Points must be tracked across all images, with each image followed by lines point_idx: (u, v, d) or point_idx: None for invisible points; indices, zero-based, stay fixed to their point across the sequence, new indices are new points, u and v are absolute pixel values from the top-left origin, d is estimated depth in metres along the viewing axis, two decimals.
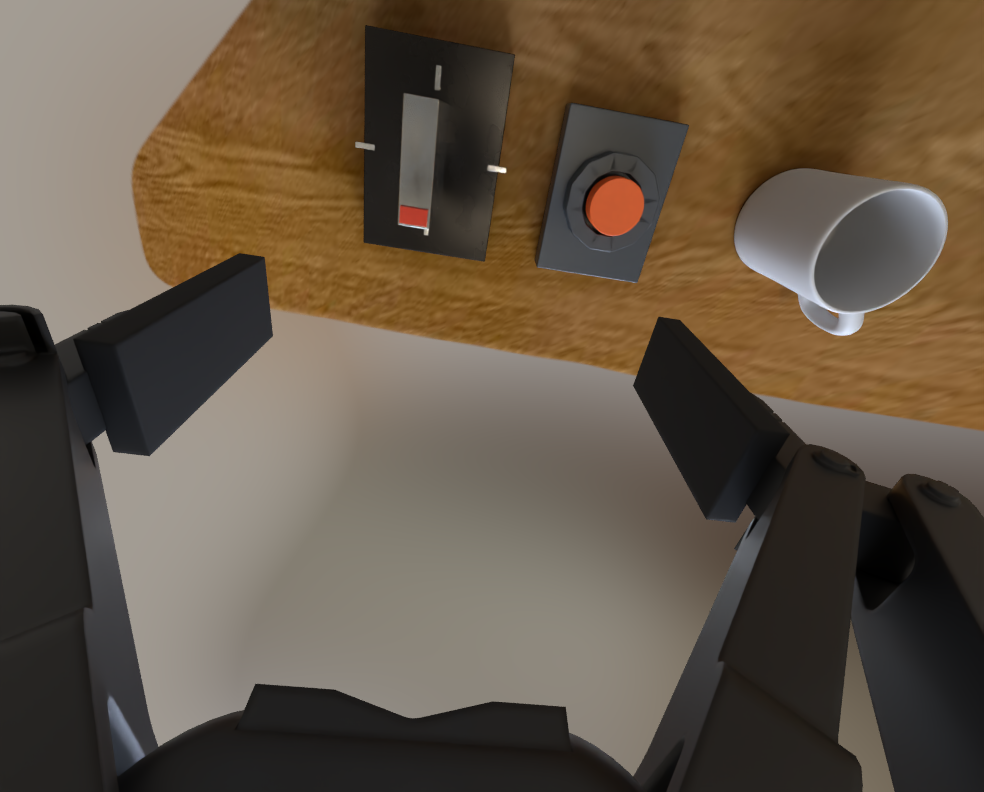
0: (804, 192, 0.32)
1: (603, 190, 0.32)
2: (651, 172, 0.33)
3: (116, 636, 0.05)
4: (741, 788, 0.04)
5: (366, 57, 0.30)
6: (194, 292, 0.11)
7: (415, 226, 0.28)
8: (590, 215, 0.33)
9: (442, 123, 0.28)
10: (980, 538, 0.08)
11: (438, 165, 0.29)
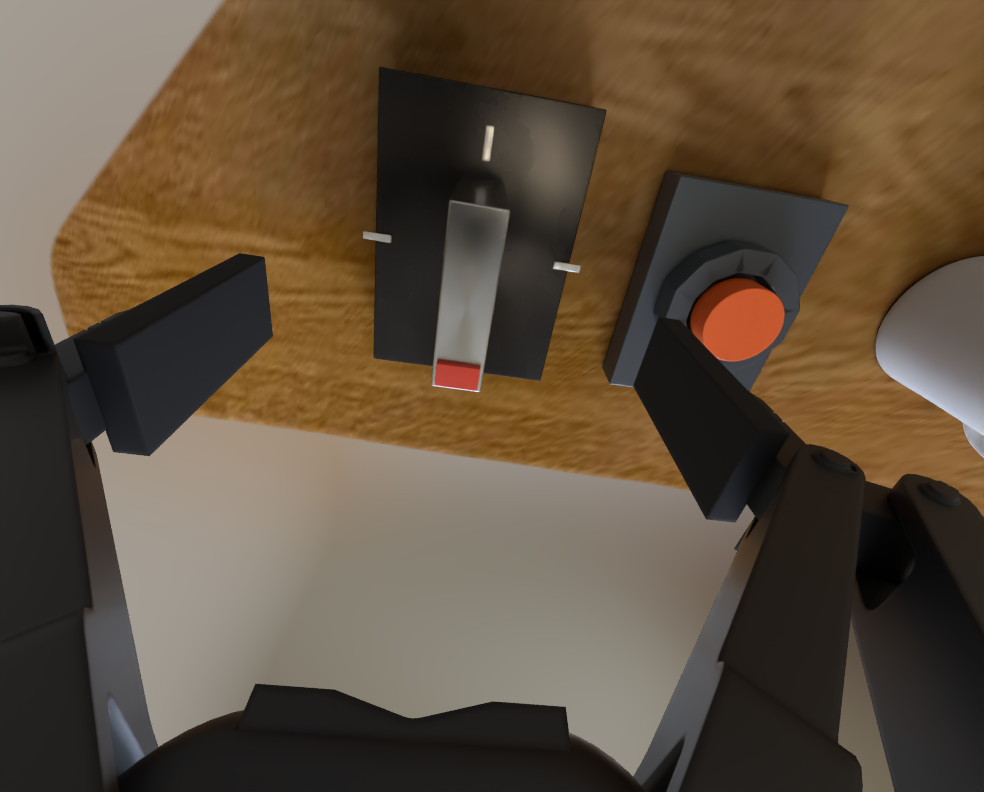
0: None
1: (727, 304, 0.22)
2: (793, 274, 0.23)
3: (116, 636, 0.05)
4: (741, 788, 0.04)
5: (380, 114, 0.20)
6: (194, 292, 0.11)
7: (459, 388, 0.18)
8: (703, 335, 0.23)
9: None
10: (981, 538, 0.08)
11: None
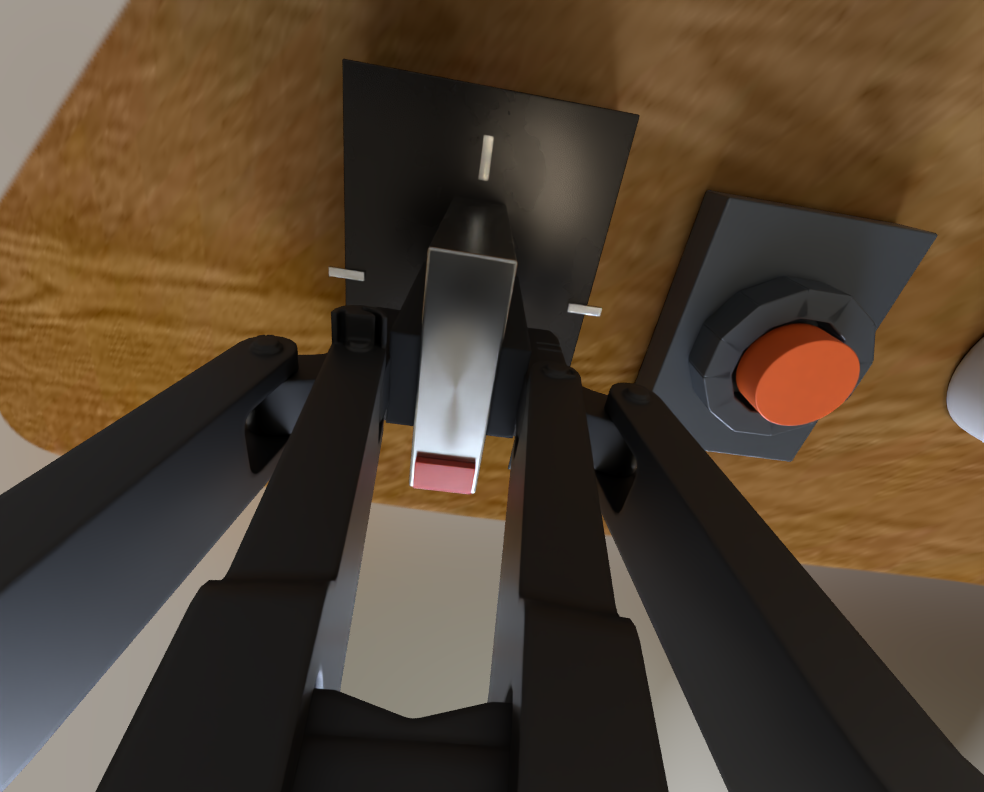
0: None
1: (788, 359, 0.17)
2: (869, 320, 0.18)
3: (343, 604, 0.06)
4: (565, 712, 0.04)
5: (346, 120, 0.15)
6: None
7: None
8: (755, 396, 0.18)
9: None
10: (669, 424, 0.09)
11: None
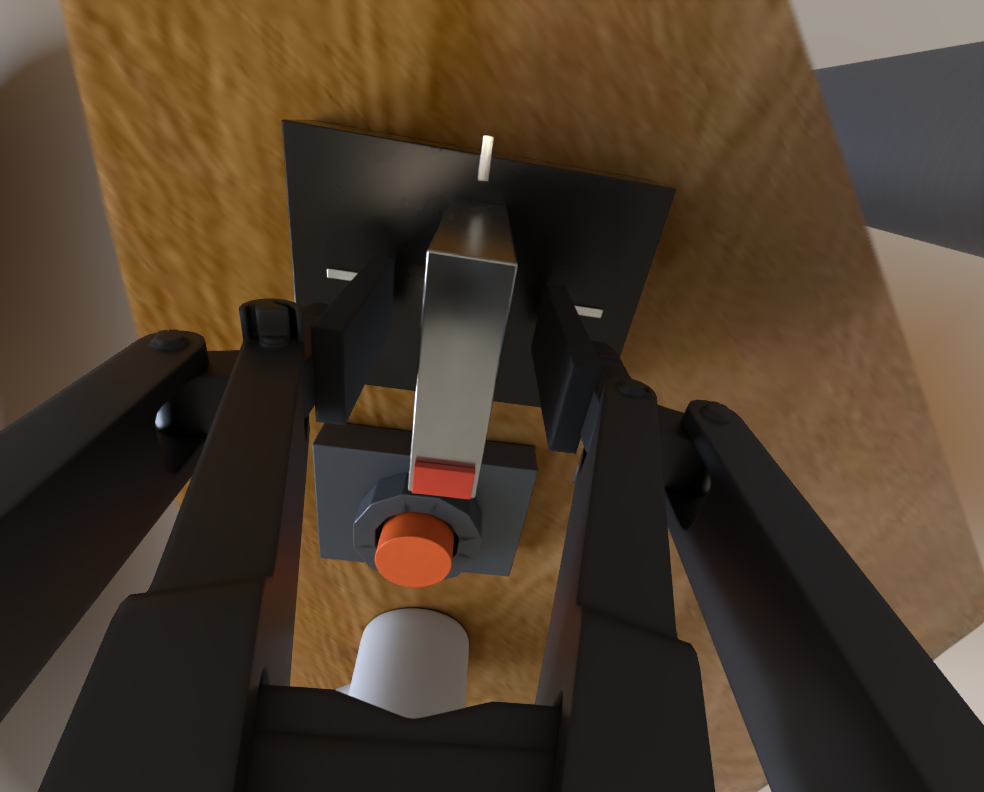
0: (446, 700, 0.30)
1: (434, 548, 0.23)
2: (459, 572, 0.26)
3: (284, 601, 0.06)
4: (615, 722, 0.04)
5: (630, 184, 0.16)
6: (365, 289, 0.13)
7: None
8: (399, 537, 0.22)
9: None
10: (749, 446, 0.09)
11: None
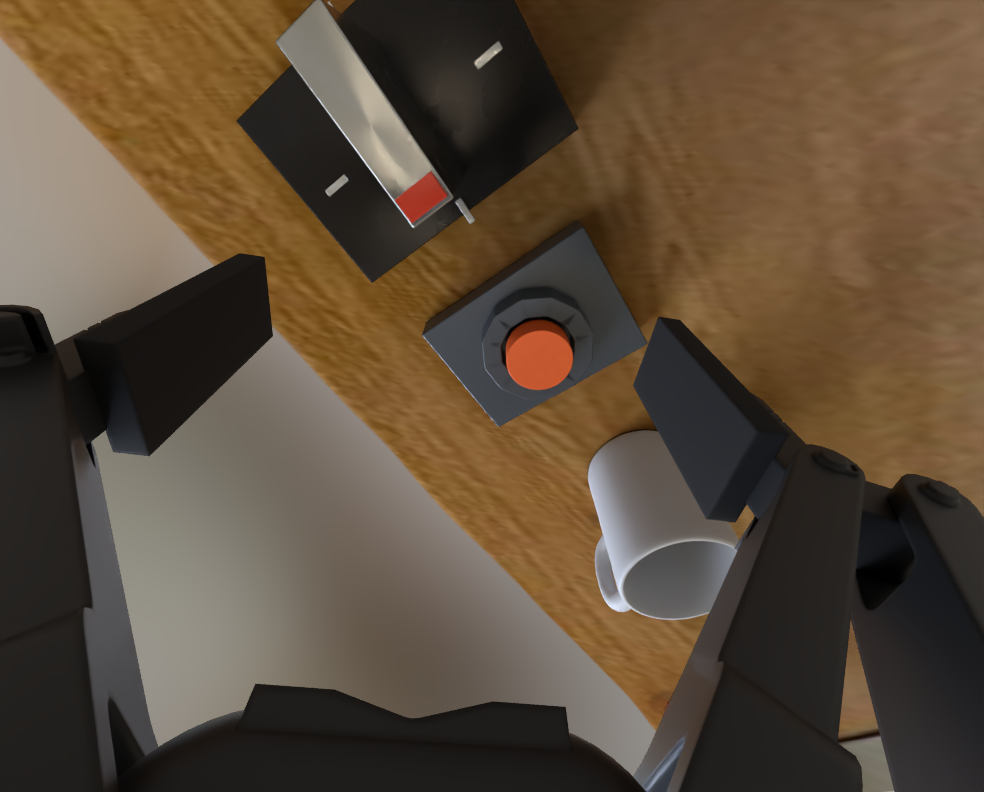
0: (675, 478, 0.31)
1: (542, 336, 0.26)
2: (591, 356, 0.28)
3: (116, 636, 0.05)
4: (741, 788, 0.04)
5: None
6: (194, 292, 0.11)
7: (434, 209, 0.17)
8: (512, 345, 0.26)
9: (367, 48, 0.17)
10: (980, 538, 0.08)
11: (405, 108, 0.18)
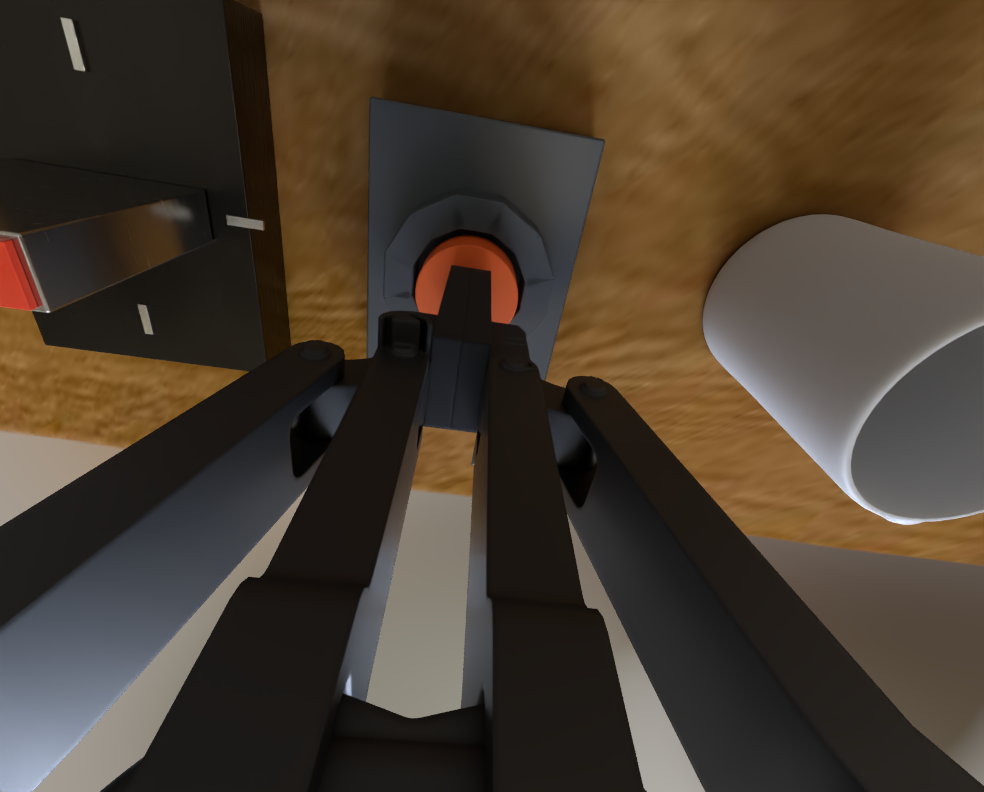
0: (827, 274, 0.16)
1: (435, 267, 0.17)
2: (532, 231, 0.17)
3: (375, 609, 0.06)
4: (537, 712, 0.04)
5: None
6: (461, 299, 0.13)
7: (27, 269, 0.11)
8: (419, 310, 0.18)
9: None
10: (626, 417, 0.09)
11: None
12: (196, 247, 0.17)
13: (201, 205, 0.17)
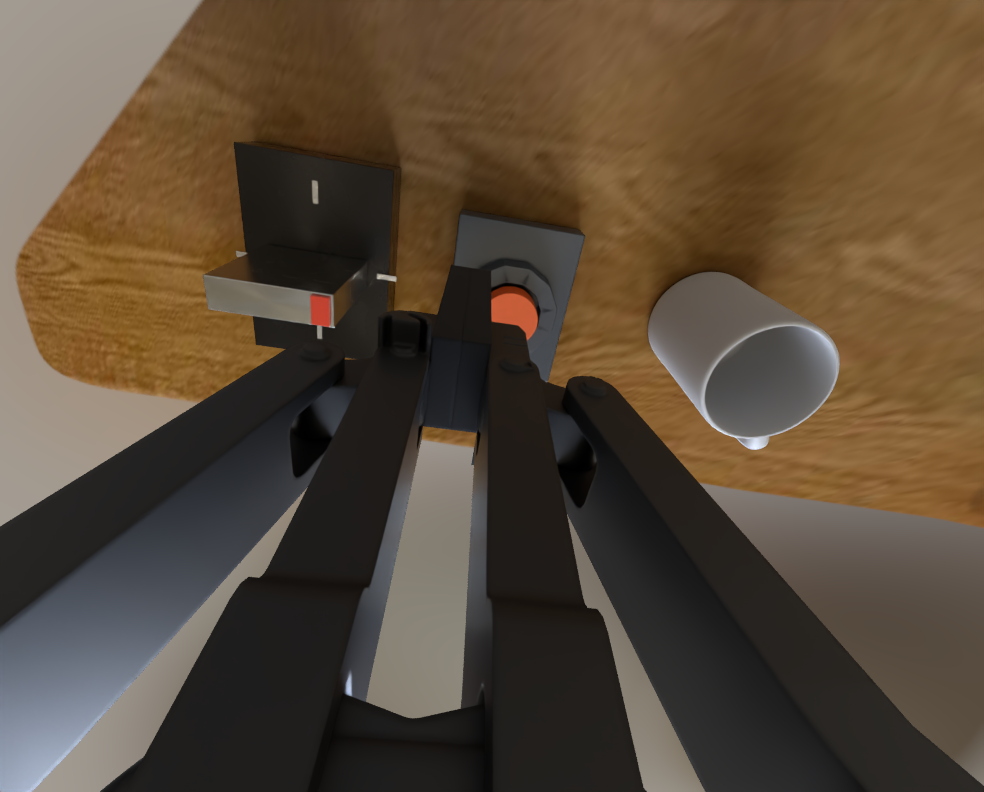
0: (701, 309, 0.31)
1: (493, 304, 0.31)
2: (545, 284, 0.32)
3: (375, 609, 0.06)
4: (537, 712, 0.04)
5: (238, 172, 0.29)
6: (461, 299, 0.13)
7: (331, 309, 0.25)
8: None
9: (250, 263, 0.27)
10: (626, 417, 0.09)
11: (288, 271, 0.27)
12: (362, 291, 0.32)
13: (366, 269, 0.32)
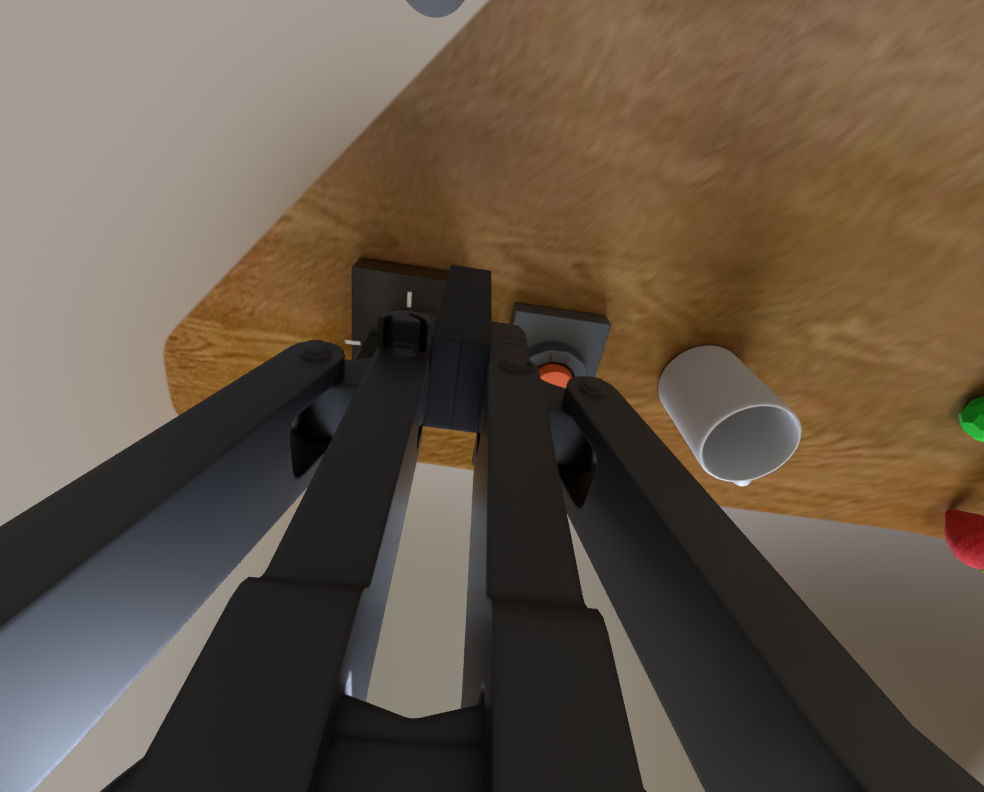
0: (700, 382, 0.40)
1: None
2: (581, 362, 0.41)
3: (375, 609, 0.06)
4: (536, 712, 0.04)
5: (352, 286, 0.39)
6: (461, 299, 0.13)
7: None
8: None
9: None
10: (626, 417, 0.09)
11: None
12: None
13: None
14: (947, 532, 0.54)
